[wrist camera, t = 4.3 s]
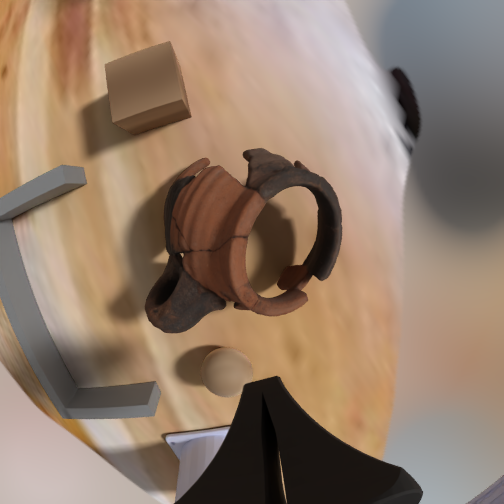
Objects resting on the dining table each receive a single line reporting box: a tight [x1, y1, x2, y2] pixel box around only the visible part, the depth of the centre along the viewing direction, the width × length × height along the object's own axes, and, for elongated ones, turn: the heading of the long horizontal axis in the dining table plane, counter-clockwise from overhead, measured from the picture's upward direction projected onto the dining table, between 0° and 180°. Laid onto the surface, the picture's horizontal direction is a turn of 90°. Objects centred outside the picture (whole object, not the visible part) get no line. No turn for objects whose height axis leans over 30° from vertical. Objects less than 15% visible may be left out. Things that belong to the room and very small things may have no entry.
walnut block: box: [105, 41, 191, 135], centre depth 15 cm, size 4×4×4 cm
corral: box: [0, 165, 161, 419], centre depth 17 cm, size 18×9×3 cm, turn 14°
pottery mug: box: [145, 148, 342, 333], centre depth 17 cm, size 12×10×8 cm
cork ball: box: [201, 347, 253, 397], centre depth 19 cm, size 4×4×4 cm
